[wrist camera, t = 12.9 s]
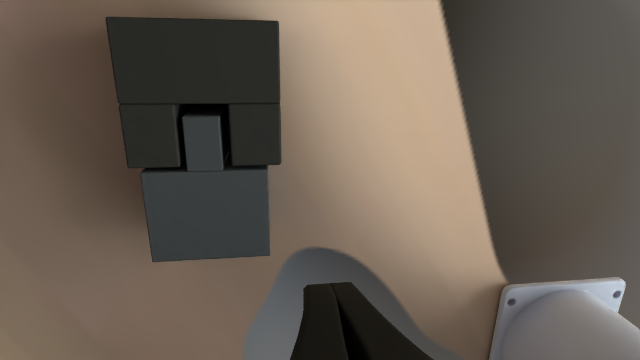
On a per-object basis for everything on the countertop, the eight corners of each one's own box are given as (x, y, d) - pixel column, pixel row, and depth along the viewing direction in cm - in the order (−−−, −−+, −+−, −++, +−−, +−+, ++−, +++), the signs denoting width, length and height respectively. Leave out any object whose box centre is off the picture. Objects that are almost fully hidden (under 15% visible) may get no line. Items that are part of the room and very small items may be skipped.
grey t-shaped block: (269, 227, 20) (270, 256, 17) (168, 231, 19) (152, 262, 17) (265, 105, 18) (266, 116, 15) (153, 106, 17) (131, 117, 15)
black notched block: (278, 147, 19) (281, 165, 16) (148, 150, 18) (127, 168, 15) (276, 25, 17) (278, 20, 14) (132, 22, 16) (104, 16, 13)
